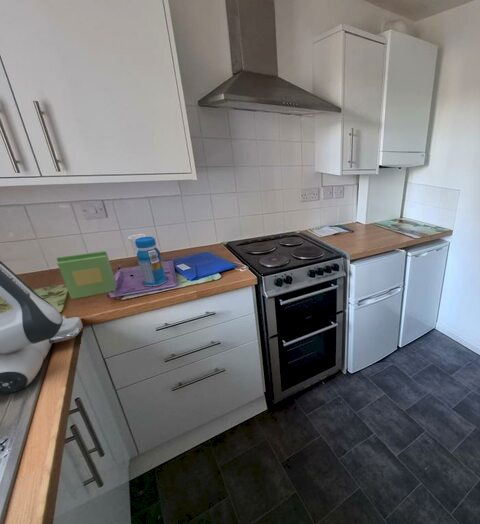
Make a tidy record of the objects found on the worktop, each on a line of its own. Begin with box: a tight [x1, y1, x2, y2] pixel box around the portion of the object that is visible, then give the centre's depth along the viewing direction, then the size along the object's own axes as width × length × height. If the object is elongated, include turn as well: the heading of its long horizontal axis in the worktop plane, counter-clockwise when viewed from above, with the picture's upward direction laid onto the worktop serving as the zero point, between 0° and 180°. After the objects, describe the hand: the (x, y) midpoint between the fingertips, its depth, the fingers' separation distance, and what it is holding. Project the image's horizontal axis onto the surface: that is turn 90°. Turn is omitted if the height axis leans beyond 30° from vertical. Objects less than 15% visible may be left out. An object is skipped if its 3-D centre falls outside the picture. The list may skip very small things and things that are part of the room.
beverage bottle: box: [134, 236, 167, 288], centre depth 125 cm, size 8×8×20 cm
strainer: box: [127, 233, 147, 256], centre depth 148 cm, size 7×7×15 cm
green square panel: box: [56, 250, 118, 300], centre depth 117 cm, size 14×5×16 cm, turn 122°
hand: (42, 322), depth 92 cm, fingers open, 8 cm apart
